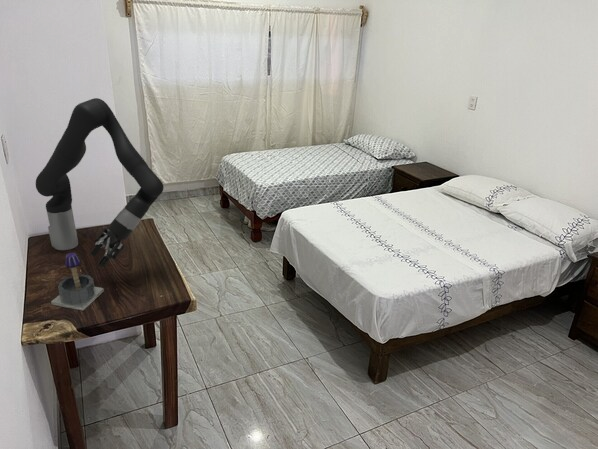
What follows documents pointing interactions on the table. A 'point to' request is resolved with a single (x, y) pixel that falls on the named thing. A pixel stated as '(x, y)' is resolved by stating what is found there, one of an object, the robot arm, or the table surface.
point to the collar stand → (77, 293)
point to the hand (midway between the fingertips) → (95, 260)
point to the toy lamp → (73, 267)
